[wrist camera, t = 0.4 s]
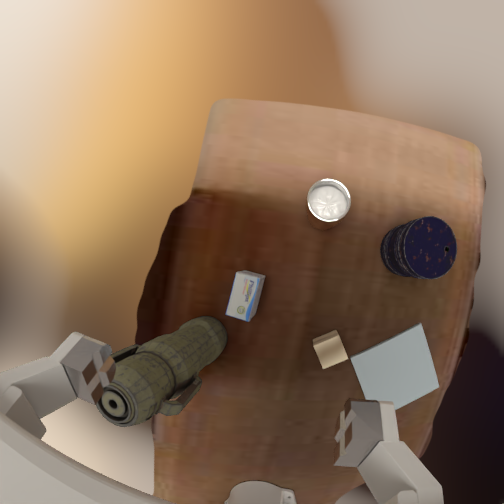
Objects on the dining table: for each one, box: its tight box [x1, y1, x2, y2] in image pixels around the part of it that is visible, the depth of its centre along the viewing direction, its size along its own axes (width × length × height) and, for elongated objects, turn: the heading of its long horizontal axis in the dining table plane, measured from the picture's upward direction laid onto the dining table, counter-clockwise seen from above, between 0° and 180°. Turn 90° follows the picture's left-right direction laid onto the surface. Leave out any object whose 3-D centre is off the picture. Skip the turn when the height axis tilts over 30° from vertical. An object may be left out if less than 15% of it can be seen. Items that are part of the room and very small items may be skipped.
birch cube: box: [313, 330, 348, 369], centre depth 56 cm, size 5×5×5 cm
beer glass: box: [306, 178, 351, 230], centre depth 52 cm, size 7×7×15 cm
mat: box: [350, 323, 439, 410], centre depth 55 cm, size 16×16×1 cm
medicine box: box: [225, 270, 266, 322], centre depth 57 cm, size 8×4×9 cm, turn 165°
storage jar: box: [380, 216, 457, 279], centre depth 49 cm, size 10×10×15 cm
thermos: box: [96, 316, 227, 427], centre depth 45 cm, size 9×12×35 cm
